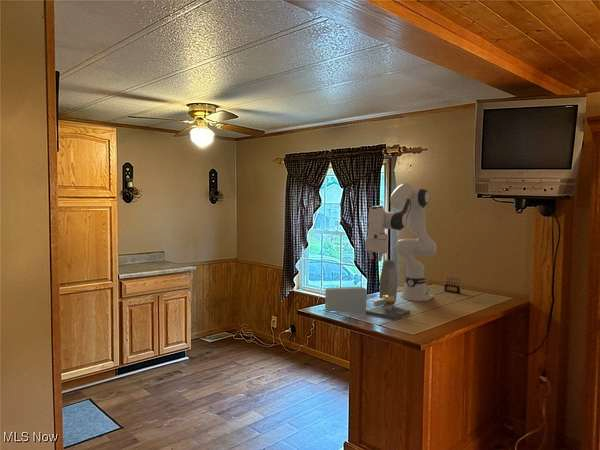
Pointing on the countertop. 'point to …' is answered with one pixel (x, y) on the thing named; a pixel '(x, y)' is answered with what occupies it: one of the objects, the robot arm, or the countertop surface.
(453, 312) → the countertop surface
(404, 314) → the plate
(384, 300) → the gold knob with bar
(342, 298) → the bar with end hole
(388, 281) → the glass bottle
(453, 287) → the ammunition clip
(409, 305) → the countertop surface
